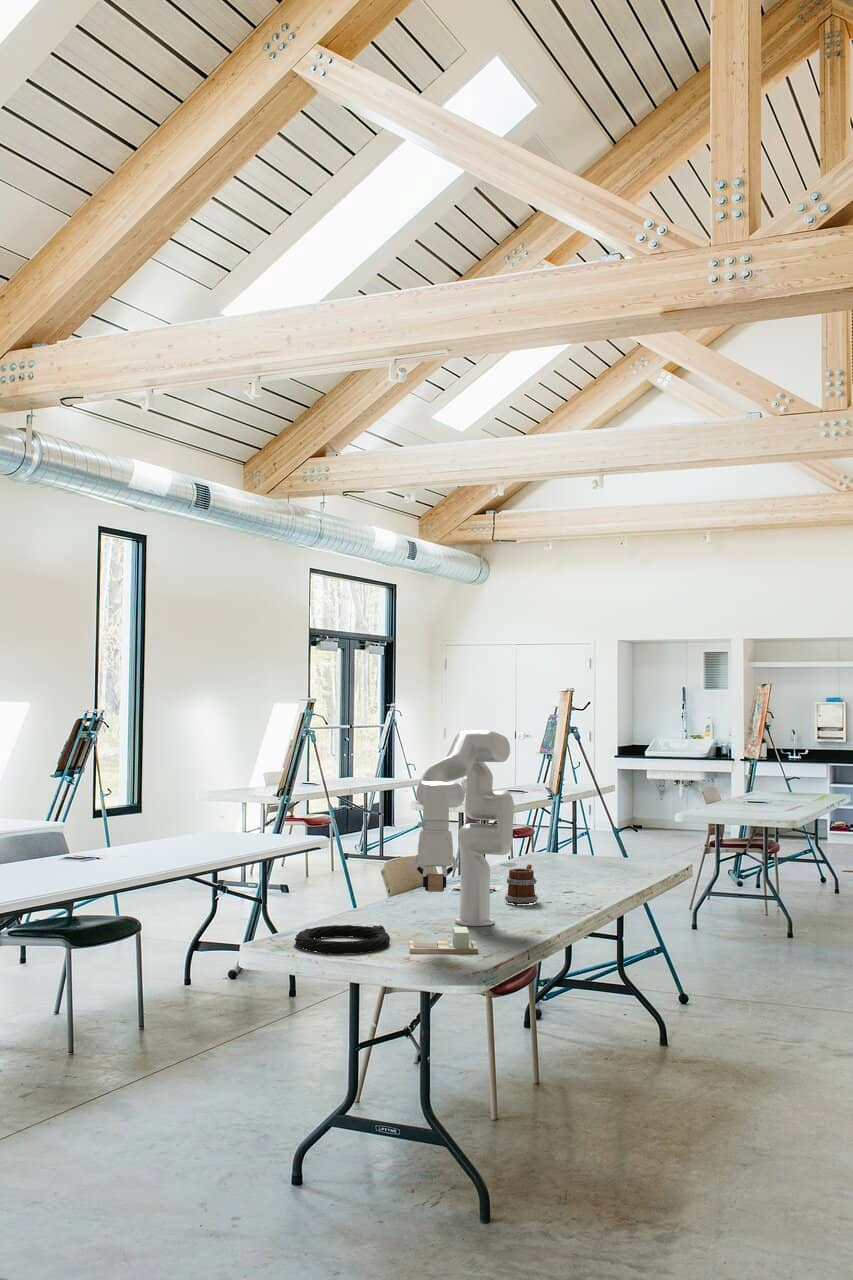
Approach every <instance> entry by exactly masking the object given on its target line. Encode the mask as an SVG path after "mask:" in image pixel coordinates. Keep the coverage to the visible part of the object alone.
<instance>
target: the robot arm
mask: <svg viewBox="0 0 853 1280" xmlns="http://www.w3.org/2000/svg"><path fill="white" fill-rule="evenodd" d="M510 753H511V744H510V742H509V740H508V738H507V737H506V736H504V735H503V734H500V733H498V732H496V731H493V730H463V731H460V732H459V733H457V734H456V735H455V737H454V739H453V742H452V744H451V746H450V748H449V750H448V752H447V755H446V757H445V758H443V759H441V760H439V761H438V762H436V763H434V764H432V765H431V766H429V767H428V768H427V769H426V770H425V771H424V772H423V774H422V776H421V778H420V780H419V782H418V785H417V787H416V795H415V796H416V801H417V802H418V804H419V805H421V806H422V820H421V821H418V822H417V827H420V828H422V830H420V832H419V836H418V843H417V844H418V845H417V854H416V855H415V857H414V858H413V860H412V862H411V863H410V866H411V867H412V868H413V869H415V870H416V871H418V872H419V873H420V875H422V888H423V889H424V891H425V892H428V891H427V890H428V875H427V874H428V869H429V867H441V870H442V874H443V892H444V891H445V889H446V888H447V877H448V876H449V875H450V874H451V873H452V872H453V871H454V870H456V869H458V868H459V867H460V883H459V884H460V886H459V887H460V888H459V889H460V890H459V891H460V897H459V898H460V899H459V901H460V902H459V903H460V904H459V908H460V909H459V910H460V911H459V917H455V919H454V921H455V924H457V925H462V926H465V927H467V926H468V927H485V926H487V927H488V926H491V925H492V926H493V924H495V919H494V918H493V917H491V914H490V913H491V912H490V911H491V910H490V908H491V907H490V905H491V904H490V903H491V901H490V899H491V896H490V895H491V891H490V890H491V889H490V888H491V869H490V864H489V863H488V861H487V859H486V857H485V856H484V855H492V856H493V855H496V856H499V855H500V856H505V855H507V854H509V853H510V851H511V849H512V846H513V845H512V844H513V835H514V834H513V832H514V816H515V815H514V814H515V804H514V803H515V802H514V799H513V796H512V795H511V793H510V792H507V791H502V790H493V784H494V783H493V781H494V776H493V772H492V771H491V769H490V768H489V766H488V765H487V764H486V763H504V762H506V761H507V760H508V759H509V756H510ZM464 777H466V789H465V788H464V787H463V785H462V784H460V783H458V782H454V781H456V780H458V779H459V780H460V779H461V778H464ZM464 800H465V802H464ZM463 803H465V804H464V809H465V815H466V817H468V818H469V819H471V820H480V821H496V822H497V824H487V823H467V824H464V825H461V827H460V828H459V830H458V832H457V842H458V848H459V856H460V860H459V861H460V865H459V863H458V861H457V860H456V858H455V856H454V845H453V844H454V842H453V833H452V831H451V830H449V827H450V824H449V823H450V809H454V808H458V807H460V806H461V805H462V804H463ZM447 867H448V868H447Z"/></svg>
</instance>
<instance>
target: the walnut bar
mask: <svg viewBox="0 0 853 1280" xmlns="http://www.w3.org/2000/svg"><path fill="white" fill-rule="evenodd" d="M427 875H428V890H427V891H426V892H428V893H434V892H435V893H443V892H444V891H443V873H427Z"/></svg>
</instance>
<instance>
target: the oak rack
mask: <svg viewBox="0 0 853 1280" xmlns="http://www.w3.org/2000/svg"><path fill="white" fill-rule="evenodd" d="M408 941H409V944H408V945H410V946H409V954H461V953H479V948H478V946H477V944H476V943H477V942H476V941H475V939H471V940H470V943H469V948H454V947H453V943H449V942H448V939H436V943H432V942H431V943H429V942H428V943H423V942H422V943H420V942H419V943H416V942H415V943H414V939H410V938H409V939H408Z"/></svg>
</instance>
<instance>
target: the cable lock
mask: <svg viewBox="0 0 853 1280" xmlns="http://www.w3.org/2000/svg"><path fill="white" fill-rule="evenodd" d="M335 936H353V937H352V938H359V937H363V938H362V939H360V940H359V939H358V940H355V941H354V940H347V941H342V940H341V941H336V940H321V939H322V938H321V937H329V938H336V937H335ZM314 938H320V939H314ZM365 938H368V939H365ZM390 940H391V937H390V935H389V933H388V932H386V929H385V927H384V925H381V924H380V925H373V926H368V925H367V926H362V925H353V924H352V925H351V924H347V925H346V924H344V925H337V924H335V925H325V926H321V925H320V926H317V927H312V928H306V929H304V930H302V931H299V932H298V933H297V934H296V935H295V938H294V941H295V942H294V943H295V945H296V944H297V945H296V946H297V947H298V946H299V947H301V948H300V949H302V948H304V949H307V950H310V951H309V952H312V951H317V952H321V953H320V954H327V953H332V954H331V955H345V954H344V953H357V954H361V953H360V952H367V953H370V952H369V951H373V952H376V951H375V950H377V951H379V950H378V949H380V950H383V949H384V948H386V947H387V946H388V945H389V944H390ZM299 947H298V948H299ZM304 949H303V950H304Z"/></svg>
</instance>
